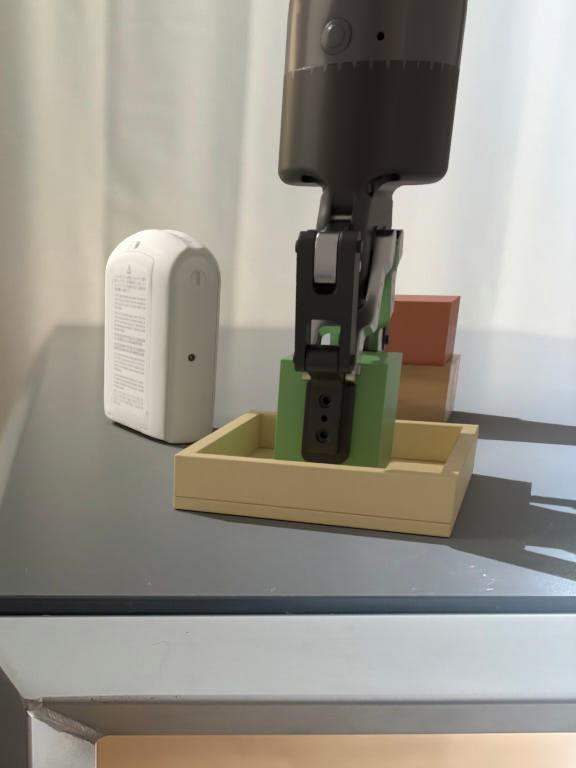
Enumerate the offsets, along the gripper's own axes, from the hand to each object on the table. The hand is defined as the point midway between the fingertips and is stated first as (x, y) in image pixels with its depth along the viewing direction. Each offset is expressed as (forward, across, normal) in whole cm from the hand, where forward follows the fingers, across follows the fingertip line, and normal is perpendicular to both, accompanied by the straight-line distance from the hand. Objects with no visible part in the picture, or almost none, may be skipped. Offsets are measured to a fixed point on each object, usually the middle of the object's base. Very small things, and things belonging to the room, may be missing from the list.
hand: (335, 449), depth 50 cm
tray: (+2, 0, 0) cm, 2 cm away
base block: (+2, +24, 0) cm, 24 cm away
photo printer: (+2, +12, +14) cm, 19 cm away
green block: (+1, 0, 0) cm, 1 cm away
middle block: (-2, +24, 0) cm, 24 cm away
